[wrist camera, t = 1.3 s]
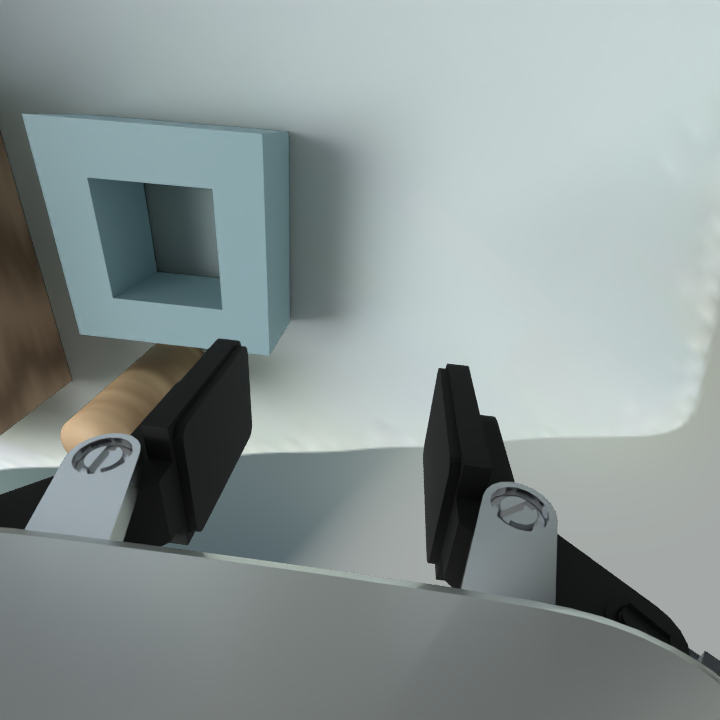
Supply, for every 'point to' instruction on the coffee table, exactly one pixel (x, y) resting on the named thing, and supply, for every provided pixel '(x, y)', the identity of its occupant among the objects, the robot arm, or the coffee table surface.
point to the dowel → (131, 394)
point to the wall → (23, 315)
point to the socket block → (133, 235)
